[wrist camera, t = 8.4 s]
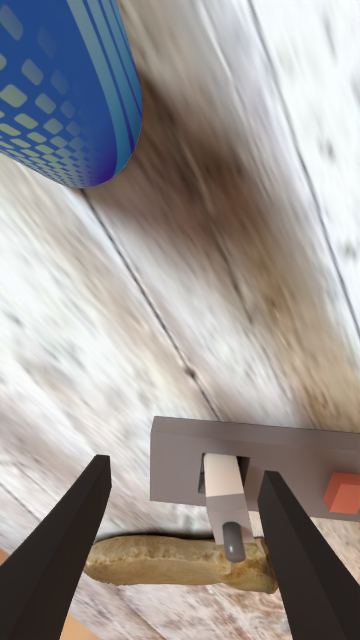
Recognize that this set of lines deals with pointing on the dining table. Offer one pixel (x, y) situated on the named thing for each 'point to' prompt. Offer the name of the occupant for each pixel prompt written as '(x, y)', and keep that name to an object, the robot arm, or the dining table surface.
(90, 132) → the beer can
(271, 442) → the power strip
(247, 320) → the dining table surface
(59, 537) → the robot arm
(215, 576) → the stone tool
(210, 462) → the plug
